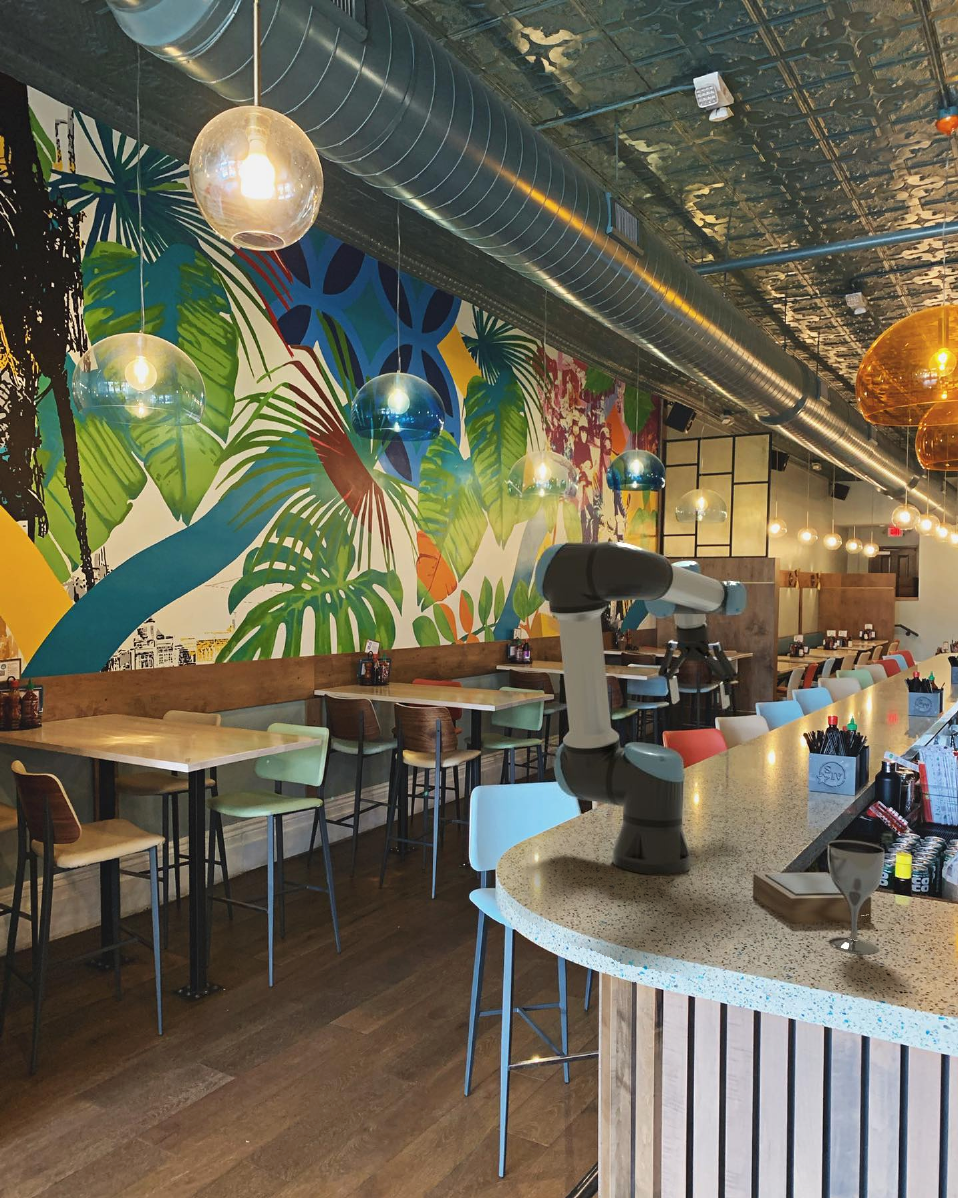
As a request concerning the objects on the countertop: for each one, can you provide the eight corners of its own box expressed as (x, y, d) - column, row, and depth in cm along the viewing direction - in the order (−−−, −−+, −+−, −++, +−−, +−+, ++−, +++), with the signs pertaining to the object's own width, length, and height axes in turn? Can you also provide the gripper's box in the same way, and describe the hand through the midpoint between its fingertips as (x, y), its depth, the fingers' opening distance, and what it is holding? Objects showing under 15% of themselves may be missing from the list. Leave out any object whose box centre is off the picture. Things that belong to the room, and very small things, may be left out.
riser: (790, 923, 145) (791, 896, 145) (752, 895, 159) (753, 871, 159) (870, 921, 147) (871, 895, 147) (826, 894, 161) (826, 870, 161)
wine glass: (867, 936, 140) (869, 840, 140) (892, 956, 132) (894, 854, 132) (817, 935, 140) (819, 839, 140) (839, 955, 132) (841, 853, 132)
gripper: (745, 620, 214) (754, 703, 218) (652, 617, 229) (662, 694, 234) (733, 630, 208) (742, 714, 213) (638, 626, 224) (649, 705, 229)
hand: (700, 704), depth 224 cm, fingers open, 13 cm apart
